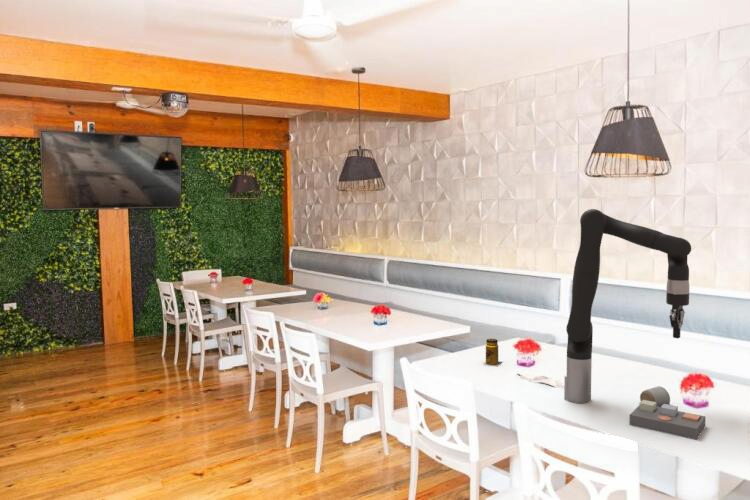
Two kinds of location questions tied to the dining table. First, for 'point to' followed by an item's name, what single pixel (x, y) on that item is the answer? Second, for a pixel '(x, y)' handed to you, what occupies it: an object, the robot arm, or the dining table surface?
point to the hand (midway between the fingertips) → (676, 337)
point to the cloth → (542, 380)
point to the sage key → (647, 406)
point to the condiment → (492, 353)
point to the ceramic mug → (656, 396)
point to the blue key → (669, 410)
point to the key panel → (667, 423)
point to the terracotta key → (691, 417)
